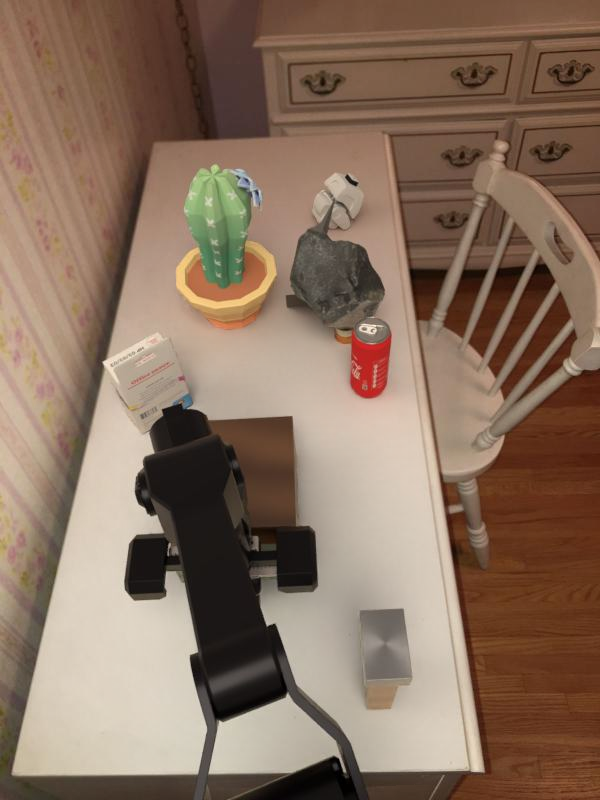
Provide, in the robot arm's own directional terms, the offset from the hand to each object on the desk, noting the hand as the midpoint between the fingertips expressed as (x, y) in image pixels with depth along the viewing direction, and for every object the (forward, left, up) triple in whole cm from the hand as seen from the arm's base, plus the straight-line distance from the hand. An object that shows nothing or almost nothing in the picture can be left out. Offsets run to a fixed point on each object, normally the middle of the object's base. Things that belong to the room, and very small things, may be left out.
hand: (233, 591), depth 71 cm
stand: (-9, -15, -5) cm, 18 cm away
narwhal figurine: (+43, -14, -5) cm, 45 cm away
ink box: (+29, +12, -5) cm, 32 cm away
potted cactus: (+48, +2, -5) cm, 48 cm away
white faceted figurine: (+68, -16, -5) cm, 70 cm away
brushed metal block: (-9, -15, +8) cm, 19 cm away
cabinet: (+13, 0, -5) cm, 14 cm away
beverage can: (+31, -18, -5) cm, 36 cm away
